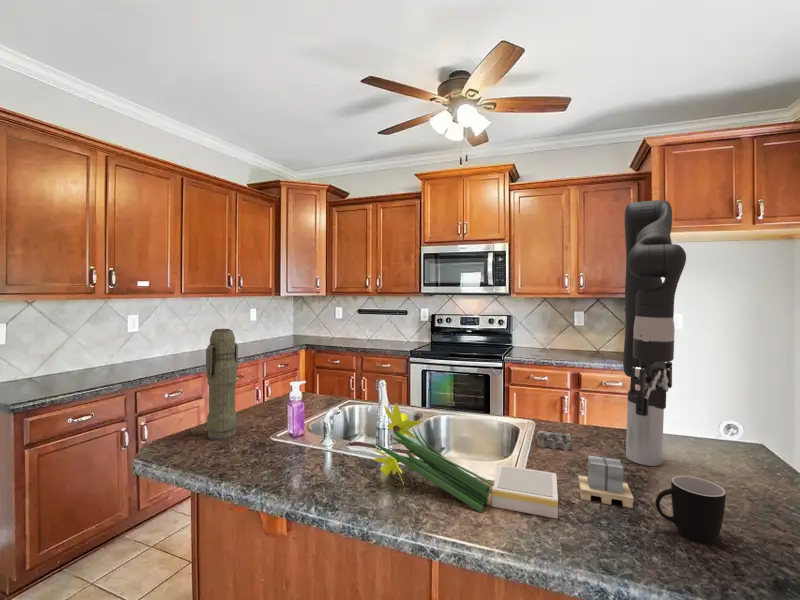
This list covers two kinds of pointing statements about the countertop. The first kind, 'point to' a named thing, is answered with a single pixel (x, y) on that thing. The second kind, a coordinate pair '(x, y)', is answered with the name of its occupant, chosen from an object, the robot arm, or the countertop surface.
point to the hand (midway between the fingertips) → (650, 411)
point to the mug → (695, 507)
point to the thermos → (222, 384)
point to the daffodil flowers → (432, 464)
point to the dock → (526, 491)
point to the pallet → (605, 482)
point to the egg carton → (553, 440)
